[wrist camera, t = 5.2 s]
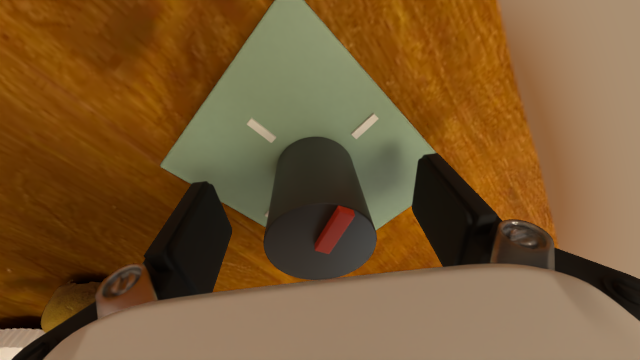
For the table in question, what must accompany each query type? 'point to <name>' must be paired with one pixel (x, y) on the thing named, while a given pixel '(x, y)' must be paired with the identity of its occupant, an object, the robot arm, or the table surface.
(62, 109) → the table surface
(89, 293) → the fruit
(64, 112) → the table surface
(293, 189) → the dimmer knob
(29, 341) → the plastic lid
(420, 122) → the table surface
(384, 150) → the dimmer panel
